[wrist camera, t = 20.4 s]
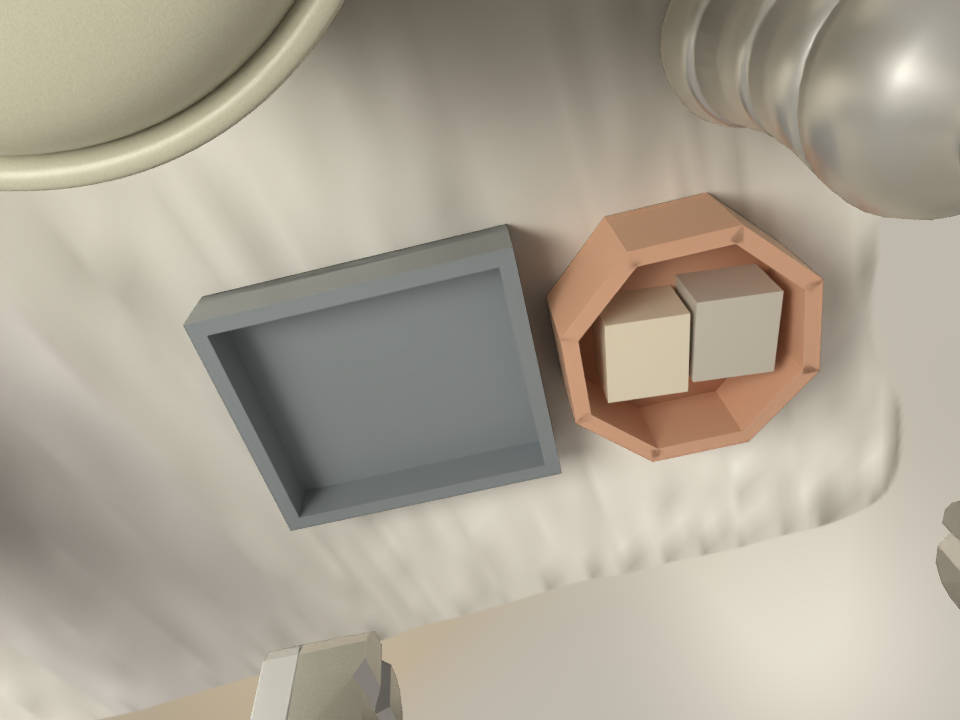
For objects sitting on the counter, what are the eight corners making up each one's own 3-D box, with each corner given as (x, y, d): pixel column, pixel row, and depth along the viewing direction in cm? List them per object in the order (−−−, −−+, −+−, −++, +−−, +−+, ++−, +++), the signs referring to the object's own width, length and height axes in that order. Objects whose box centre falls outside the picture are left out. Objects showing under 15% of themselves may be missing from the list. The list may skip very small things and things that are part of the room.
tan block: (590, 296, 34) (604, 326, 32) (669, 284, 34) (690, 313, 31) (595, 369, 37) (608, 403, 34) (668, 358, 36) (688, 391, 34)
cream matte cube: (675, 274, 34) (696, 302, 31) (755, 263, 34) (783, 290, 31) (673, 349, 36) (693, 382, 33) (748, 339, 36) (773, 371, 33)
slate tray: (299, 494, 41) (290, 530, 38) (202, 296, 34) (183, 325, 31) (553, 439, 40) (561, 473, 37) (506, 223, 33) (512, 247, 30)
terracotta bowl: (571, 424, 39) (586, 476, 36) (533, 233, 33) (546, 270, 29) (779, 379, 39) (817, 427, 35) (780, 174, 32) (826, 204, 29)
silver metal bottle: (656, 129, 31) (930, 349, 14) (637, -37, 27) (970, -17, 10) (798, 90, 30) (1265, 269, 13) (797, -85, 27) (1425, -145, 10)
